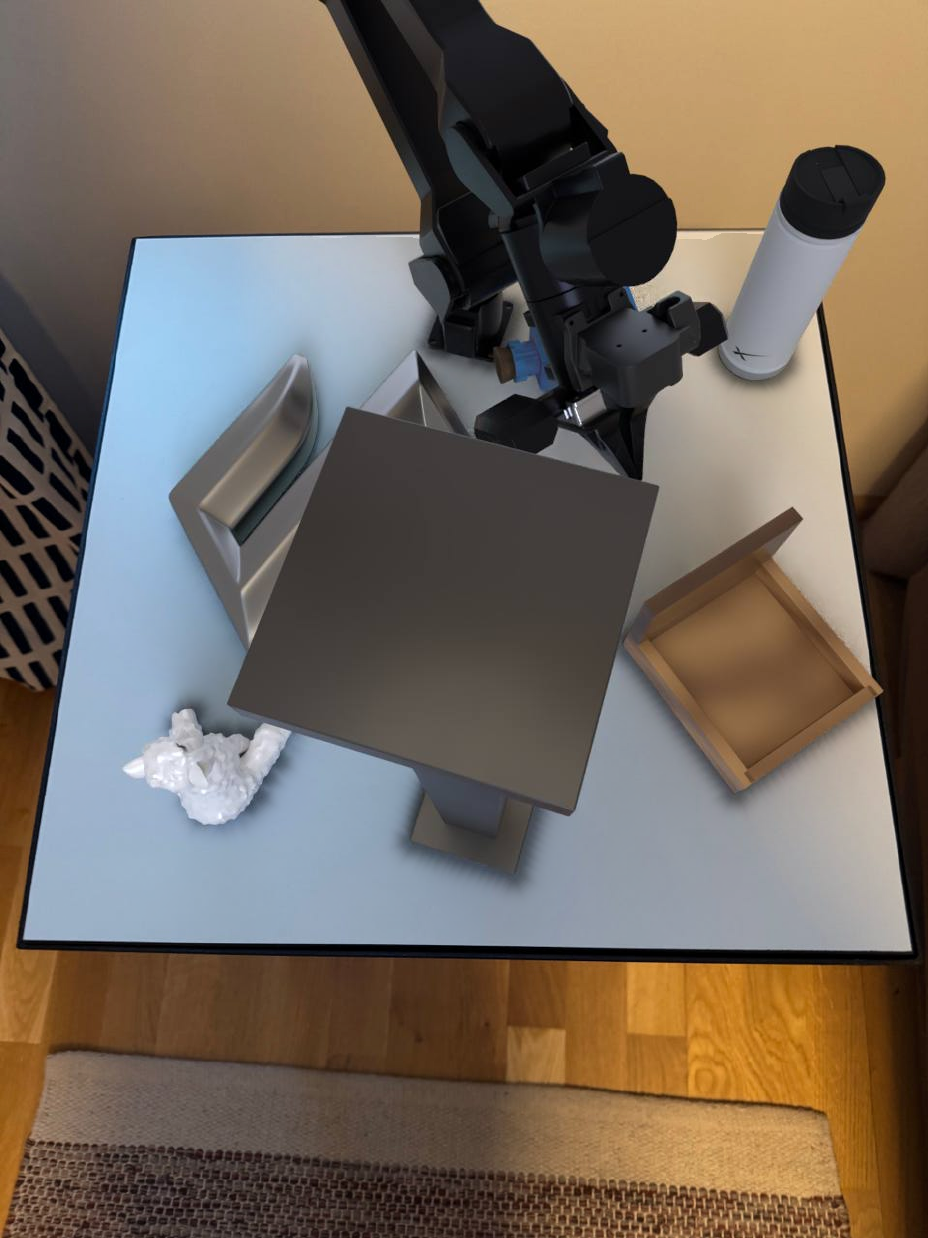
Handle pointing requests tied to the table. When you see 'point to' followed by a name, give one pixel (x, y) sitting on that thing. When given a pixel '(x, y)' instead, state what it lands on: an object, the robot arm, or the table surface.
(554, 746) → the plant stand
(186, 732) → the white creature statuette
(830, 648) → the oak drawer
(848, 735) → the table surface
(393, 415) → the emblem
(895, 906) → the table surface
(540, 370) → the perfume bottle
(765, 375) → the travel mug
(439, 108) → the robot arm
